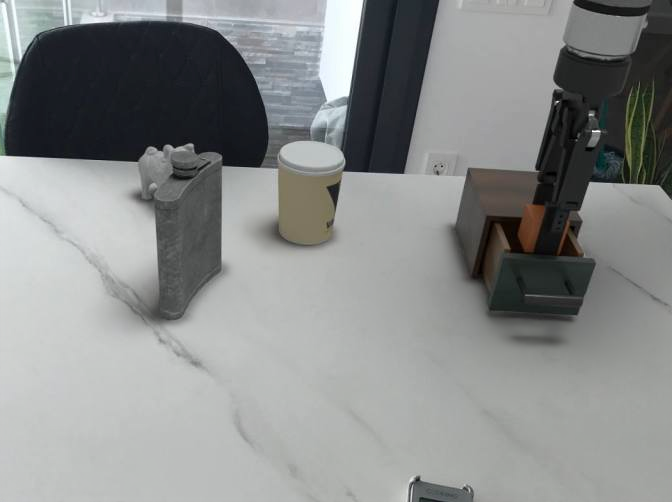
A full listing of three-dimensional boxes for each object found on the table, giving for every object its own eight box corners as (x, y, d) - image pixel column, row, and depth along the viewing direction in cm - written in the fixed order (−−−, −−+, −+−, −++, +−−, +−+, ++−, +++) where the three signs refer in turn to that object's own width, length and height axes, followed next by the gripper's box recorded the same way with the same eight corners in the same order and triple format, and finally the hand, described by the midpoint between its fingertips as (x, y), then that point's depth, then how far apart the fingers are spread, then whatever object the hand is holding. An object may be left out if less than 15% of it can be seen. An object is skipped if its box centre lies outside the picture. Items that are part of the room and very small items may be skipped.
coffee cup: (338, 249, 110) (348, 169, 102) (273, 246, 109) (277, 165, 102) (335, 218, 117) (343, 141, 109) (273, 215, 117) (277, 137, 109)
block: (550, 237, 100) (560, 206, 97) (559, 254, 96) (570, 222, 94) (517, 235, 100) (526, 203, 97) (524, 252, 96) (534, 220, 93)
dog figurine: (185, 227, 112) (183, 157, 105) (134, 195, 119) (129, 127, 112) (214, 217, 115) (214, 148, 108) (162, 185, 122) (159, 119, 115)
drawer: (588, 338, 95) (608, 284, 90) (496, 333, 95) (511, 279, 90) (551, 261, 109) (567, 211, 104) (471, 256, 109) (483, 205, 104)
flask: (150, 314, 95) (141, 176, 83) (200, 260, 105) (198, 131, 94) (177, 322, 94) (172, 183, 83) (224, 266, 105) (226, 136, 93)
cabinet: (561, 284, 106) (583, 221, 100) (470, 278, 106) (486, 215, 100) (537, 232, 117) (554, 172, 111) (454, 227, 117) (467, 167, 111)
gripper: (661, 79, 76) (589, 281, 91) (607, 28, 90) (552, 212, 105) (585, 74, 76) (525, 278, 91) (543, 24, 89) (497, 209, 104)
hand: (540, 242), depth 98 cm, fingers closed on block, 4 cm apart
